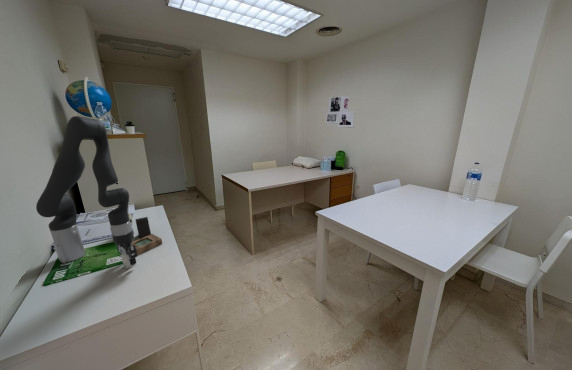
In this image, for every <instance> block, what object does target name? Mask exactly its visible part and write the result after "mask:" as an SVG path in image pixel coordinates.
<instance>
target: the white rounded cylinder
mask: <svg viewBox="0 0 572 370" xmlns="http://www.w3.org/2000/svg"><path fill="white" fill-rule="evenodd" d="M128 252H129V251H128ZM129 255H130V254H129ZM132 255H133V254H132ZM120 256H121V261H122V265H123V268H124V269H131V268H133V267H134V266H136V264H134V265H130V261H129V257H128V255H126V254H125V253H124V251H123V250H122V251H121V253H120Z"/></svg>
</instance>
